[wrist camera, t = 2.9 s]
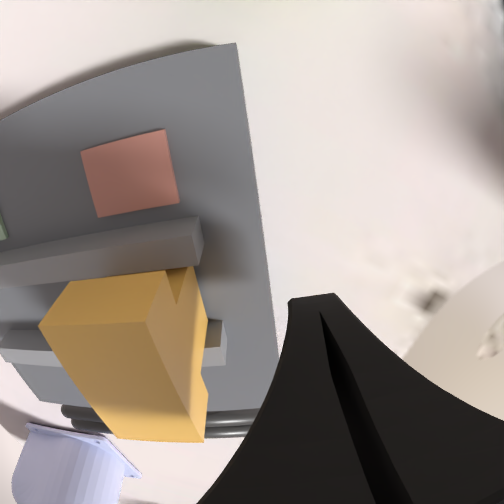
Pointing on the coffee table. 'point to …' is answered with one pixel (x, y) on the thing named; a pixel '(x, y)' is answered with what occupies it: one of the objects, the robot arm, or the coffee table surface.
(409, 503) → the robot arm
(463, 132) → the coffee table surface
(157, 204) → the panel
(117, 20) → the coffee table surface
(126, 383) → the toggle knob
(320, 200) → the coffee table surface
